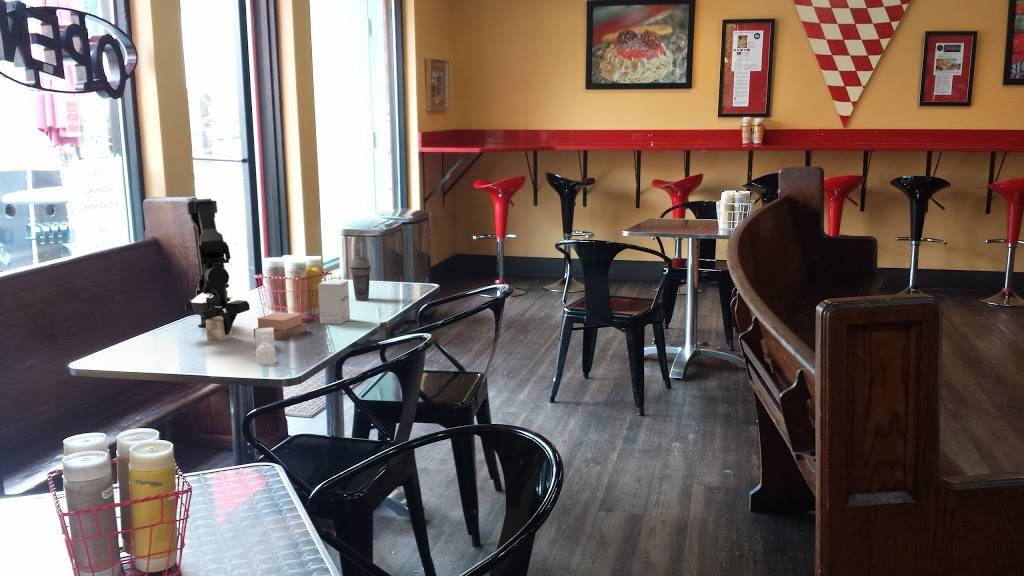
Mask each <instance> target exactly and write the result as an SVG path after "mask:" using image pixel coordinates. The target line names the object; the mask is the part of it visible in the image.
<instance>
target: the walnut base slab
mask: <svg viewBox="0 0 1024 576" xmlns="http://www.w3.org/2000/svg"><path fill="white" fill-rule="evenodd" d="M257 328H258V327H255V328H253V337H254V338H255V329H257ZM306 332H308V324H307V323H305V322H302V324H300V325H297V326H295V327H292V328H290V329H287V330H274V340H285V341H286V340H288V339H291V338H293V337H297V336H298V335H301V334H303V333H306Z"/></svg>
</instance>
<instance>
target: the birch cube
mask: <svg viewBox="0 0 1024 576" xmlns="http://www.w3.org/2000/svg"><path fill="white" fill-rule="evenodd" d="M205 330H206V340H207V341H215V342H223V341H226V340H228V339H230V338H233V326H232V327H231V330H230V333H229V335H225V331H224V320H223V317H222V316H216V317H213V318H210V319H207V320H206V327H205Z"/></svg>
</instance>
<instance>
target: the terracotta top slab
mask: <svg viewBox="0 0 1024 576" xmlns="http://www.w3.org/2000/svg"><path fill="white" fill-rule="evenodd" d="M302 323H303V317H302V313H296V312H295V313H293V312H282V311H281V312H280V311H279V312H278V311H276V312H275V311H274V312H272V313H270V314H267V315H264V316H260V317H257V325H258V326H257V328H271V327H273V329H274V330H287V329H290V328H292V327H295V326H297V325H300V324H302Z"/></svg>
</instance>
